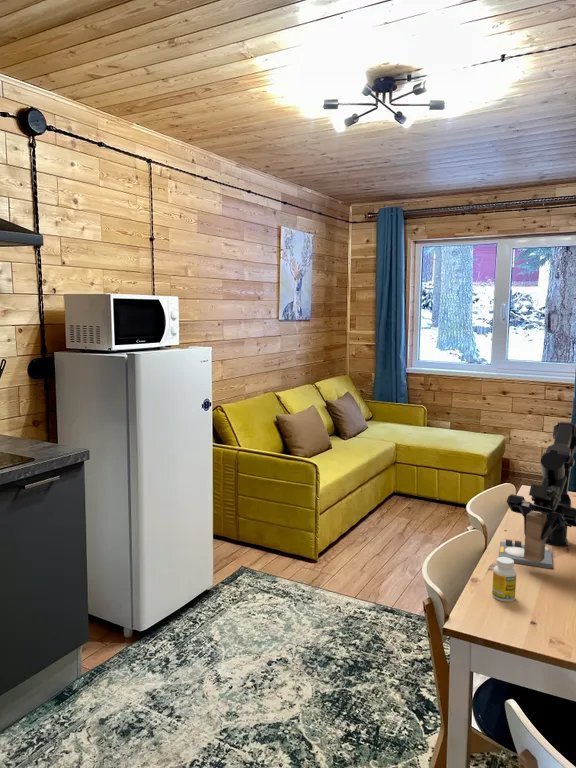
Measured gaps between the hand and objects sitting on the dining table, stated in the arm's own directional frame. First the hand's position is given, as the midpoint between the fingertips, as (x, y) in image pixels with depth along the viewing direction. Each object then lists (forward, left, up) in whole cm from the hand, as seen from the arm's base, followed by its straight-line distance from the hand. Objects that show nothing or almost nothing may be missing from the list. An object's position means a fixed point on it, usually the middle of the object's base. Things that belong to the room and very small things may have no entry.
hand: (533, 536), depth 155 cm
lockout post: (-1, +1, -7) cm, 7 cm away
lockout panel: (-11, -2, -10) cm, 15 cm away
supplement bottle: (+18, -7, -10) cm, 22 cm away
